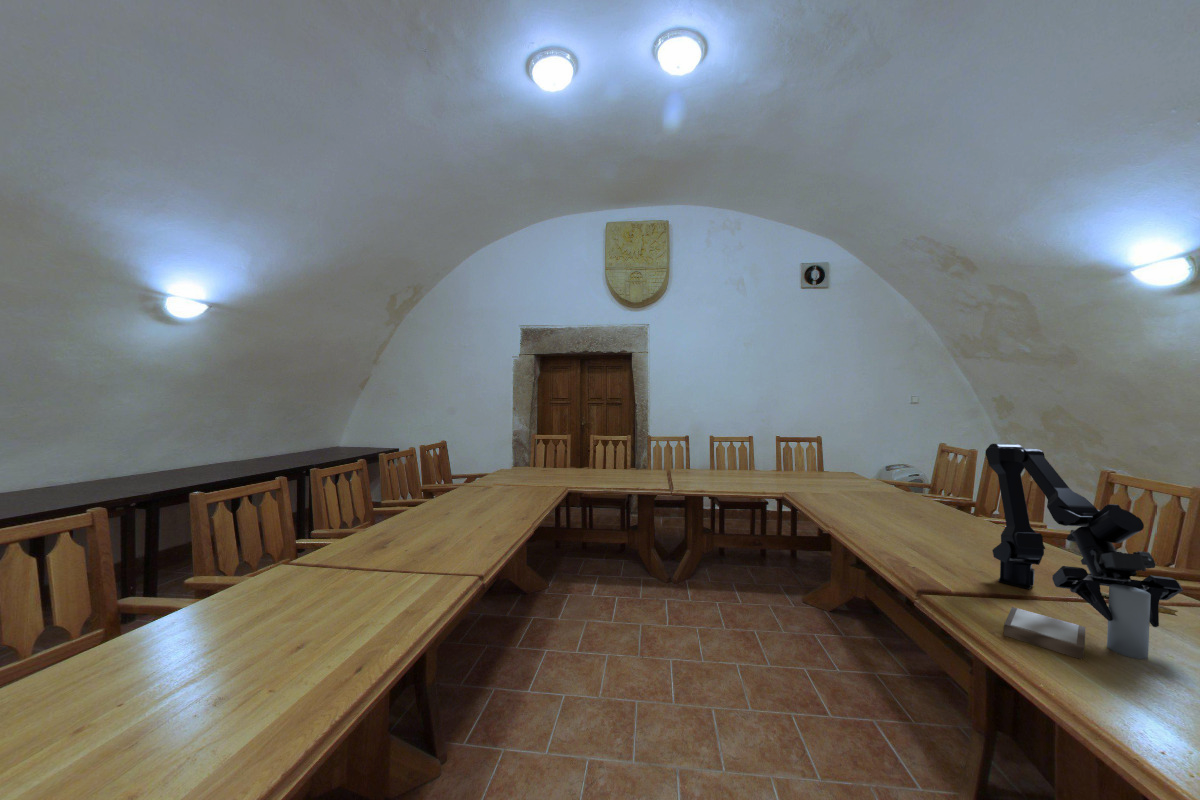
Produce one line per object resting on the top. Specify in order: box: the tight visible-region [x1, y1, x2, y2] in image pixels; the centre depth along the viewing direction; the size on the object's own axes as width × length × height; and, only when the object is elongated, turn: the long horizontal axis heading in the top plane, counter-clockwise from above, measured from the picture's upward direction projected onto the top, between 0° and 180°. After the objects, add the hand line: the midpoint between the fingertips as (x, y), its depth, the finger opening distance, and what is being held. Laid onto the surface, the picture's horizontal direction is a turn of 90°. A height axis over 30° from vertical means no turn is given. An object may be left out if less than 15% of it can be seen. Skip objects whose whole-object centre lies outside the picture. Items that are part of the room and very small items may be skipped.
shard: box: [1101, 590, 1179, 615], centre depth 114 cm, size 11×8×2 cm
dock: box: [1003, 606, 1086, 661], centre depth 99 cm, size 12×12×3 cm
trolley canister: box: [1106, 584, 1151, 660], centre depth 94 cm, size 6×6×13 cm
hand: (1133, 623), depth 93 cm, fingers open, 7 cm apart
